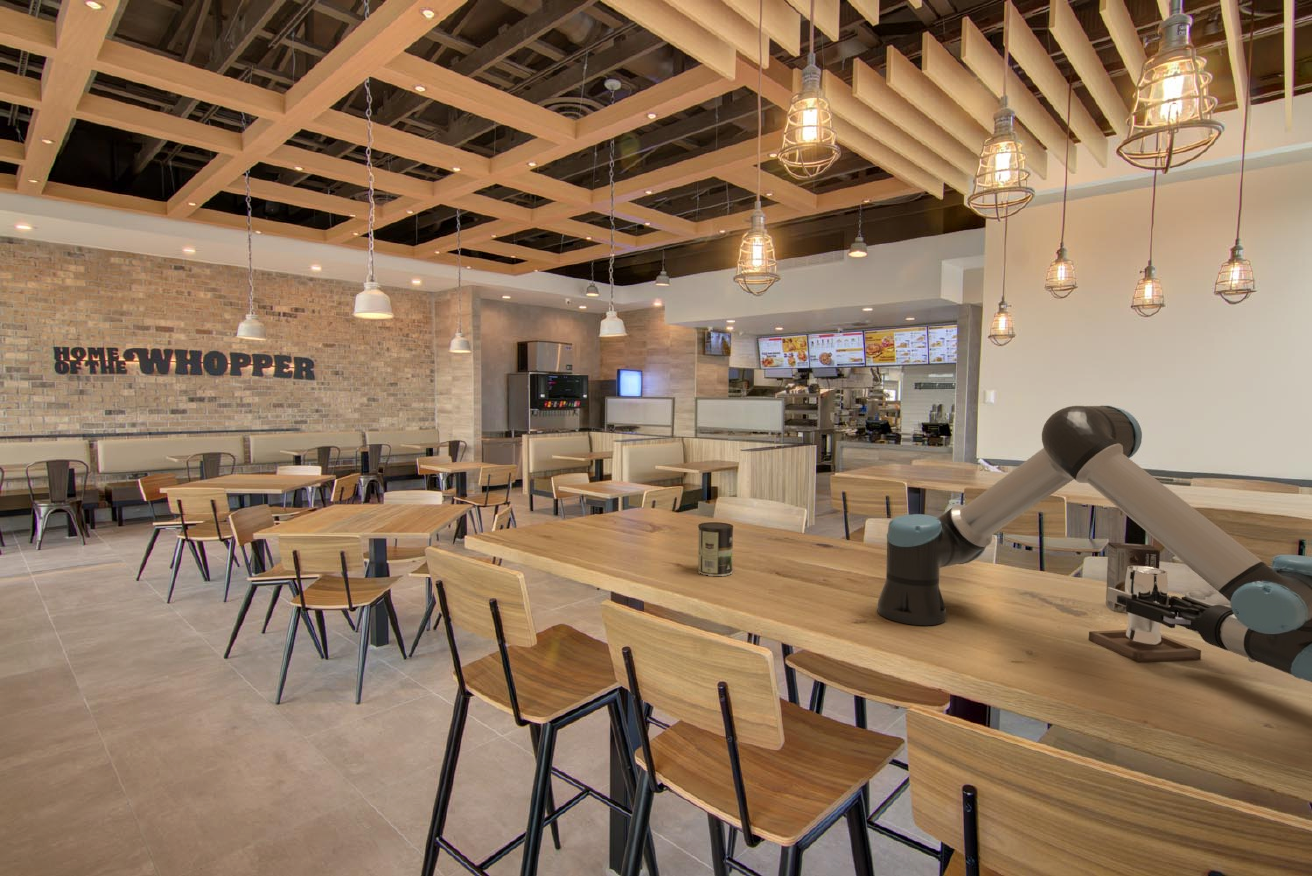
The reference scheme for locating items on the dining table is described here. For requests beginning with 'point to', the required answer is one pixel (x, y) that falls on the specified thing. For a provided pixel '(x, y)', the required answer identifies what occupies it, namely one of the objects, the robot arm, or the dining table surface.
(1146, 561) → the coffee box
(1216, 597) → the lumpy-topped squat cylinder
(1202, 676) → the dining table surface
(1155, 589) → the beer glass
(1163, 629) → the dining table surface
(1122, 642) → the tray
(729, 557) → the coffee can
